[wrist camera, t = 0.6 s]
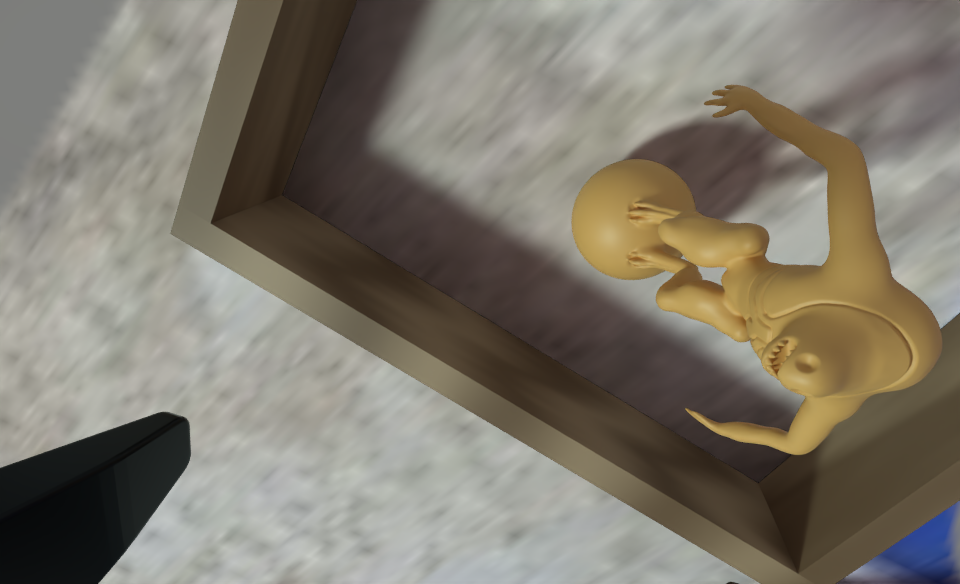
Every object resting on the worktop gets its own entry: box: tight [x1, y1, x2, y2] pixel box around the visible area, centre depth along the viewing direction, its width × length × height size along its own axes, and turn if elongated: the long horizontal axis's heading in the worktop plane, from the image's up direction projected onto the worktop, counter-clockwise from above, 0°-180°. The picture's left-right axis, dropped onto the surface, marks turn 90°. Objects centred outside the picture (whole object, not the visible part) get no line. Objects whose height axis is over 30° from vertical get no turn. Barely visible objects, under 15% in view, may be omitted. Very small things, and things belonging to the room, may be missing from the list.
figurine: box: [572, 85, 942, 455], centre depth 13 cm, size 8×6×12 cm
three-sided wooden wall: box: [170, 0, 960, 584], centre depth 17 cm, size 26×14×4 cm, turn 60°
